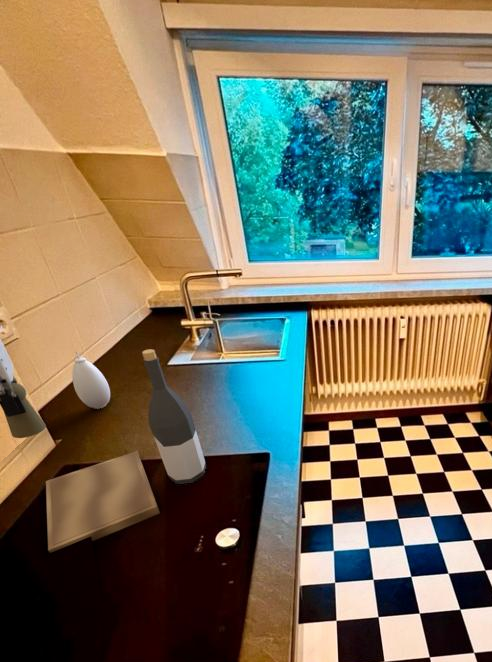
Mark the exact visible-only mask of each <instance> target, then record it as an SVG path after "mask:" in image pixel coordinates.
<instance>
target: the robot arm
mask: <svg viewBox="0 0 492 662" xmlns="http://www.w3.org/2000/svg"><path fill="white" fill-rule="evenodd" d="M2 330H3V327H2V325H1V324H0V331H2ZM11 383H18V381H17V378H16V376H15V368H14V364H13V361H12V359H11V357H10V355H9V353H8V350H7V349H6V347H5V345H4V343H3V340H2V338H0V407H1V409H2V411H3V413H4V412H5V414H6V416H7V417H10V416H14V415H19V414H23V413H26V409H25V407H24V405H23V404H22V402H21V400H20V398H19V396H18V395H16V394H15V392H14V390H13V388H12V385H11ZM3 386H7V387H8V389H9V390H7V389H4V388H3ZM5 414H4V415H5Z"/></svg>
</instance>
